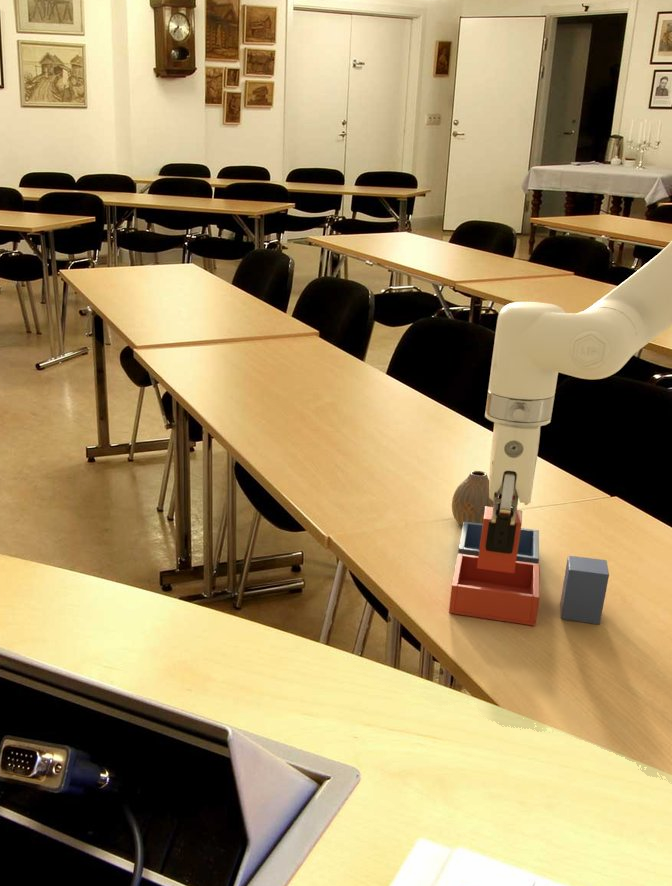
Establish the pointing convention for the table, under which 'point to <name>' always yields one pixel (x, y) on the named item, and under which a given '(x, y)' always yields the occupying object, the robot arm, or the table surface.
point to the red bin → (495, 591)
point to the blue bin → (526, 547)
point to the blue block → (584, 589)
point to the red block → (497, 559)
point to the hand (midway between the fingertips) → (499, 541)
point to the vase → (471, 498)
